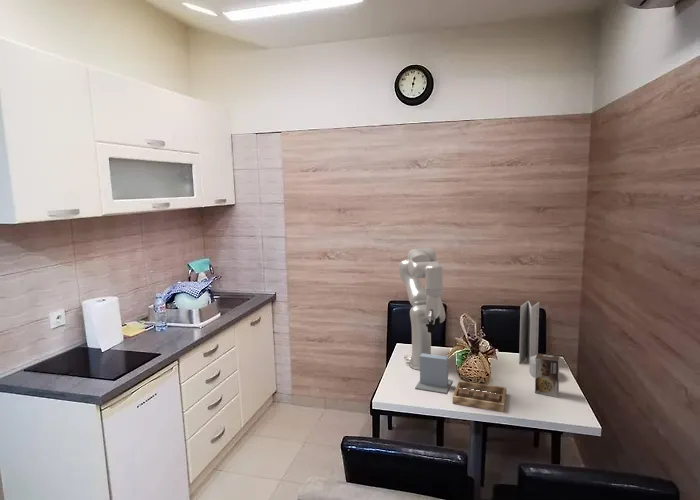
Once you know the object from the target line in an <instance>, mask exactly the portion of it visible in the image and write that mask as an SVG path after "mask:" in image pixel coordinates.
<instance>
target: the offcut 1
mask: <svg viewBox="0 0 700 500" xmlns="http://www.w3.org/2000/svg"><path fill="white" fill-rule="evenodd" d="M458 396H459V397H466V398H471V397H470V390H465V389H460V390H459V395H458Z"/></svg>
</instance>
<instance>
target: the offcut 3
mask: <svg viewBox="0 0 700 500" xmlns="http://www.w3.org/2000/svg"><path fill="white" fill-rule="evenodd" d="M487 401H490V402H496V403H501V402H500V395H497V394H491V393H490V394H489V399H488V400H487Z"/></svg>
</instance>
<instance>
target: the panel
mask: <svg viewBox="0 0 700 500" xmlns="http://www.w3.org/2000/svg"><path fill="white" fill-rule="evenodd" d="M448 379H449V356H447V355H446V356H445V355H438V354H432V353H431V354H424V353H422V354H421V355H420V370H419V381H420V383H421V384H427V385H433V386H440V387H447V385H448Z"/></svg>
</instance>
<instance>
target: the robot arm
mask: <svg viewBox="0 0 700 500" xmlns="http://www.w3.org/2000/svg"><path fill="white" fill-rule="evenodd" d="M443 271H444V270H443V266H442V265H441V264H440V263H439V262H438V261H437V254H436V251H435V250H434V249H433V248H430V247H424V248H421V247H419V248H413V249H410V250H409V251H408V253H407V259H404V260H401V261H400V262H399V264H398V273H399V277H400V279H401V281H402V282H403V284H404V286H405V288H406V293H407V296H408V297H407V298H408V300H409V303H410V305H411V306H412V307H411V308H410V310H409V317H410V318H409V319H410V324H411V353H412V354H411V355H408V354H406V355H404V356H403V357H404V358H403V359H404V360H405V361H407V362H408V361H409V362H408V366H409V367H410V368H411V369H413V370H416V371H420V355H421V354H422V353H424V354H432V334H435V333H436V327H440V326H441V324H442V323H443V322H444V321H446V320H445V319H446V311H445V308H444V305H443V301H442V297H443V295H444V294H443V291H444V289H443V287H444V285H443V276H444V274H443V273H444V272H443ZM420 279H425V281H424V282H425V283H424V284H425V286H424V287H423V285H422V282H421V280H420Z"/></svg>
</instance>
